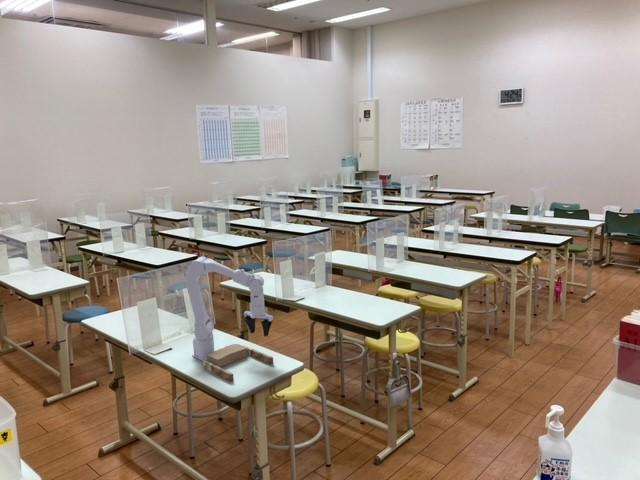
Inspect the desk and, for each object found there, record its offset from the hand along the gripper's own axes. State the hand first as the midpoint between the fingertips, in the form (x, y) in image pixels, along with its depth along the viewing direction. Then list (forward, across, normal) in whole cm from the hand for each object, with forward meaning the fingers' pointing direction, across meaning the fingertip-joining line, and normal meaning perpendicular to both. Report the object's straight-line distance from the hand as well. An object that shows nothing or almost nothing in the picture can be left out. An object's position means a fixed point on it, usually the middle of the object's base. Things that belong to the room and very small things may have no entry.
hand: (259, 334), depth 215 cm
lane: (+10, -2, -12) cm, 16 cm away
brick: (+7, -6, -11) cm, 14 cm away
